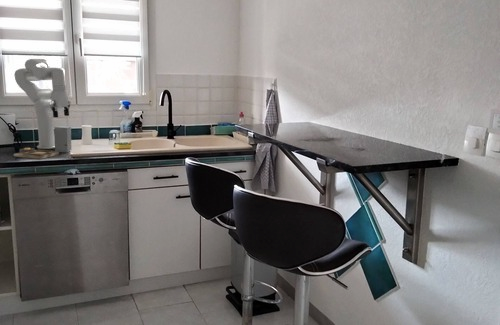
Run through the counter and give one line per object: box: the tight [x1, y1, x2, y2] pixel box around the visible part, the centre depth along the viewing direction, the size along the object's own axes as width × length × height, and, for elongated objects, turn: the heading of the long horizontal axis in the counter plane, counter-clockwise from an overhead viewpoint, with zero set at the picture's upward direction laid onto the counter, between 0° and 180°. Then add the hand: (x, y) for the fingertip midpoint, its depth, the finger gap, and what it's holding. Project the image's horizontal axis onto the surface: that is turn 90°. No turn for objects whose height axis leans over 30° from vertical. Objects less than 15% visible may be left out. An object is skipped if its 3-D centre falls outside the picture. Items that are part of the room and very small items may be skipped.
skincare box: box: [54, 125, 72, 153], centre depth 295 cm, size 8×7×16 cm
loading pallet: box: [13, 147, 60, 160], centre depth 284 cm, size 15×20×4 cm
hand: (61, 116), depth 292 cm, fingers open, 9 cm apart
